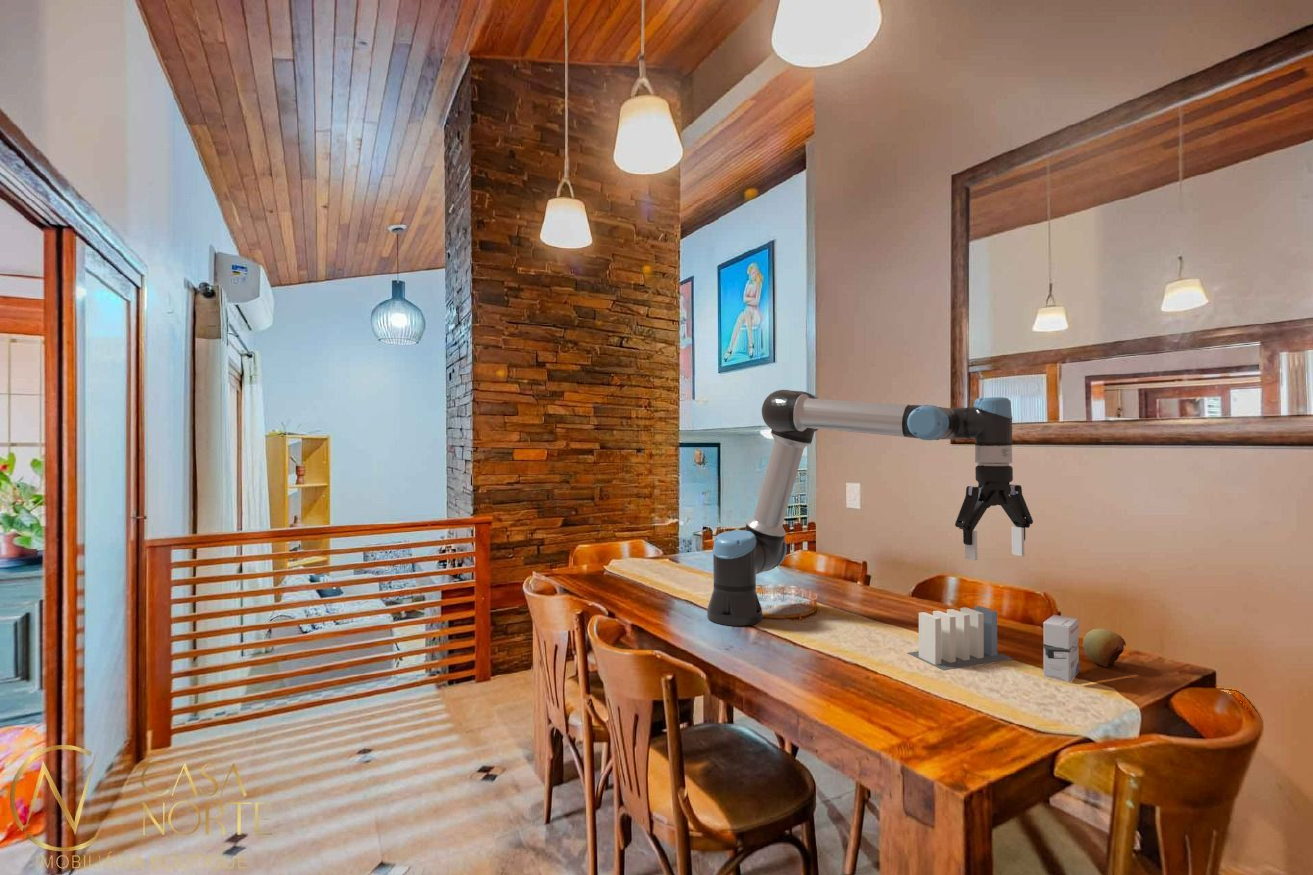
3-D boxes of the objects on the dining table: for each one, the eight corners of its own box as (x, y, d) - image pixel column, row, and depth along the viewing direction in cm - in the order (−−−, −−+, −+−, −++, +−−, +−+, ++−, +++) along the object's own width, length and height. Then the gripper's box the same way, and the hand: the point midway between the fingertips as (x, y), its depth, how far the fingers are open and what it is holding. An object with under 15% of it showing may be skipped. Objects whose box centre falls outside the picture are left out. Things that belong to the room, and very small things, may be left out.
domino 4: (978, 658, 137) (978, 613, 137) (960, 651, 142) (960, 608, 142) (983, 657, 138) (983, 613, 138) (965, 650, 142) (965, 607, 142)
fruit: (1121, 662, 135) (1121, 626, 135) (1129, 675, 128) (1129, 637, 128) (1080, 657, 139) (1080, 622, 139) (1085, 669, 132) (1085, 632, 132)
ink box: (1052, 667, 133) (1052, 613, 133) (1080, 673, 129) (1080, 618, 129) (1042, 678, 127) (1042, 621, 127) (1070, 685, 123) (1070, 626, 123)
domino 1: (935, 664, 133) (935, 619, 133) (918, 657, 138) (918, 612, 138) (941, 664, 134) (941, 618, 134) (924, 656, 138) (924, 612, 138)
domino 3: (964, 660, 136) (964, 615, 136) (946, 653, 140) (946, 609, 140) (969, 659, 136) (969, 614, 136) (952, 652, 141) (952, 608, 141)
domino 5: (991, 656, 138) (991, 612, 138) (973, 649, 143) (973, 606, 143) (997, 655, 139) (997, 611, 139) (979, 648, 144) (979, 605, 144)
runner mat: (906, 654, 141) (906, 652, 141) (974, 645, 147) (974, 643, 147) (943, 672, 130) (943, 670, 130) (1014, 661, 137) (1014, 659, 137)
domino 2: (949, 662, 134) (949, 617, 134) (932, 655, 139) (932, 611, 139) (955, 661, 135) (955, 616, 135) (938, 654, 140) (938, 610, 140)
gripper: (962, 466, 133) (964, 564, 133) (1049, 464, 140) (1051, 556, 140) (937, 465, 140) (938, 557, 140) (1021, 463, 148) (1022, 550, 147)
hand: (995, 557), depth 140 cm, fingers open, 13 cm apart
